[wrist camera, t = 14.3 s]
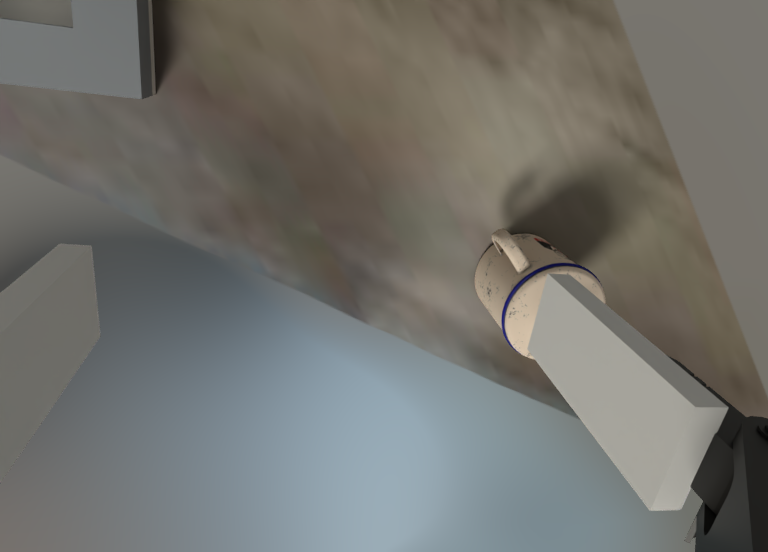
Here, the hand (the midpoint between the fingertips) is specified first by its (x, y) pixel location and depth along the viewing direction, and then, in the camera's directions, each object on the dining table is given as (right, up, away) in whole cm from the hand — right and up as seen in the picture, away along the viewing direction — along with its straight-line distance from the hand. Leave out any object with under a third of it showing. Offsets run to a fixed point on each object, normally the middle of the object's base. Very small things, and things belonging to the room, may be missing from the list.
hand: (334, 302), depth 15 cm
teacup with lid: (+14, +2, +36) cm, 38 cm away
